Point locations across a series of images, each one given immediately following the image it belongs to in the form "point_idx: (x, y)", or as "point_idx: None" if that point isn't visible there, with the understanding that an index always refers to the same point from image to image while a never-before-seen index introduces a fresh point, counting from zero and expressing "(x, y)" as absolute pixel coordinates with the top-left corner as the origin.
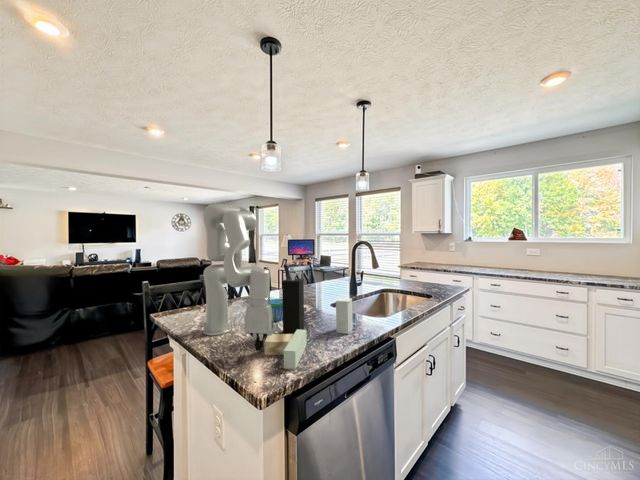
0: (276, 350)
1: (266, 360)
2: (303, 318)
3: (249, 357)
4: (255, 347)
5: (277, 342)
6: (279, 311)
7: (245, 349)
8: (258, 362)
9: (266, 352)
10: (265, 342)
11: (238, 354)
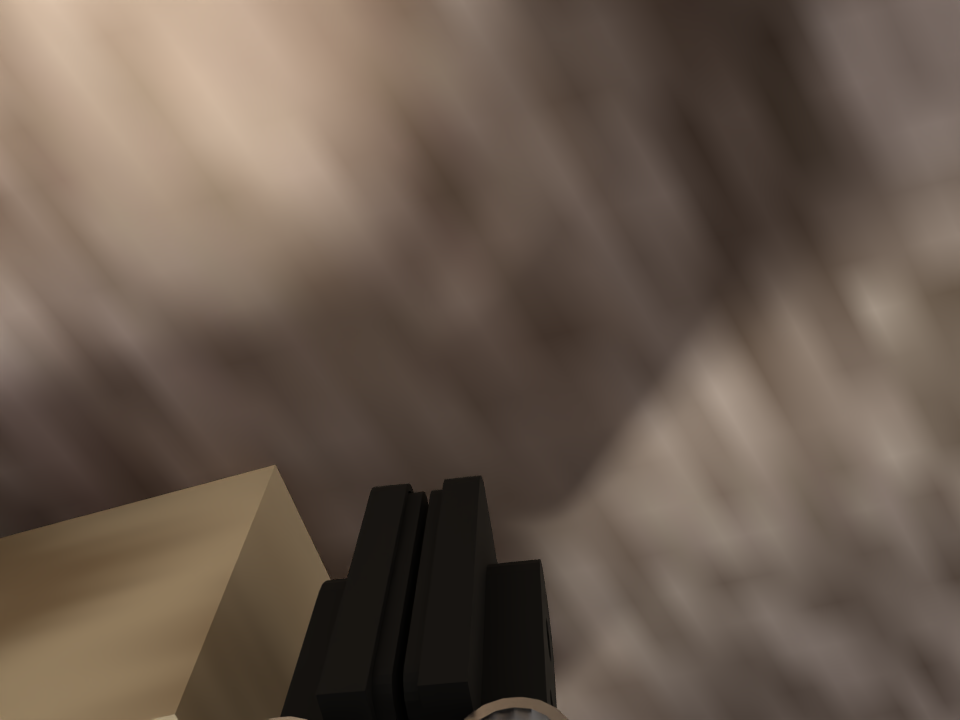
0: None
1: (46, 230)
2: None
3: (560, 265)
4: (524, 562)
5: None
6: None
7: (859, 588)
8: (163, 69)
9: (221, 510)
10: (155, 705)
11: (921, 338)
